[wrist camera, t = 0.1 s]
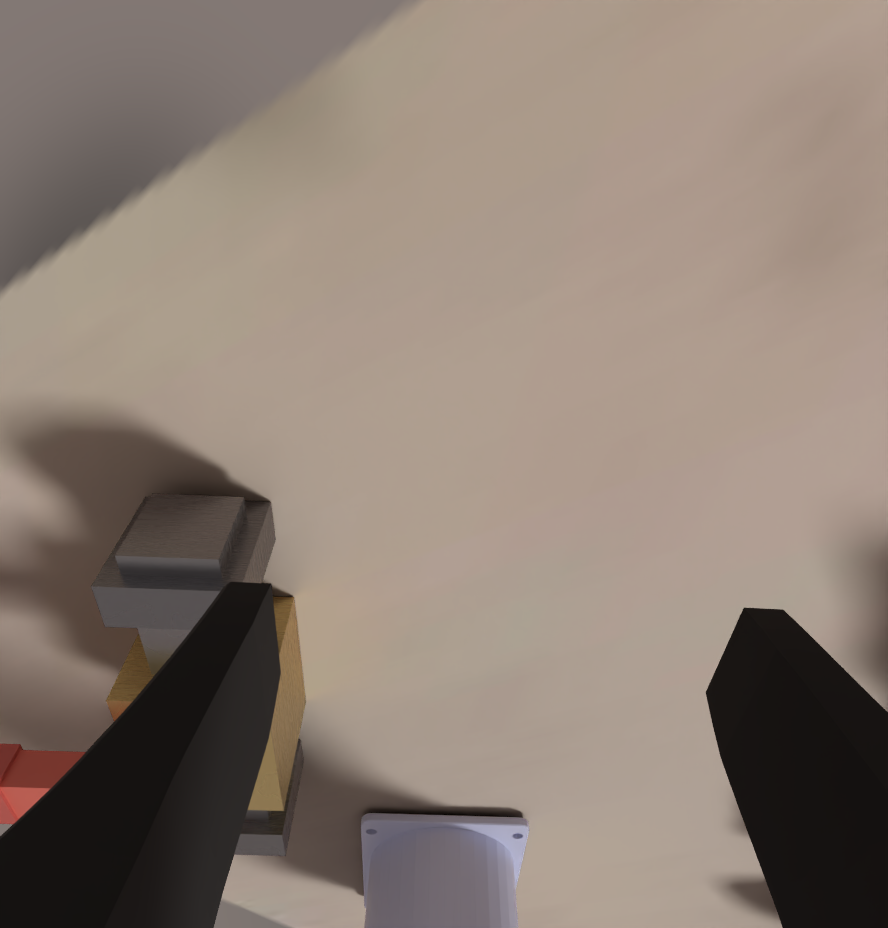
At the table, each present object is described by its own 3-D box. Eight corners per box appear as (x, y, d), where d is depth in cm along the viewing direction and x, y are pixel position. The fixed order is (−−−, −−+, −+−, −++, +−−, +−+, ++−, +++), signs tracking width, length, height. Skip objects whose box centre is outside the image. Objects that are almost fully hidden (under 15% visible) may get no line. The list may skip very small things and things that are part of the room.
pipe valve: (313, 770, 30) (293, 883, 27) (206, 767, 30) (170, 880, 26) (281, 484, 21) (244, 592, 18) (127, 478, 21) (56, 585, 17)
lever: (232, 745, 21) (219, 791, 20) (241, 787, 23) (229, 832, 21) (-97, 734, 21) (-131, 780, 20) (-68, 778, 22) (-98, 823, 21)
